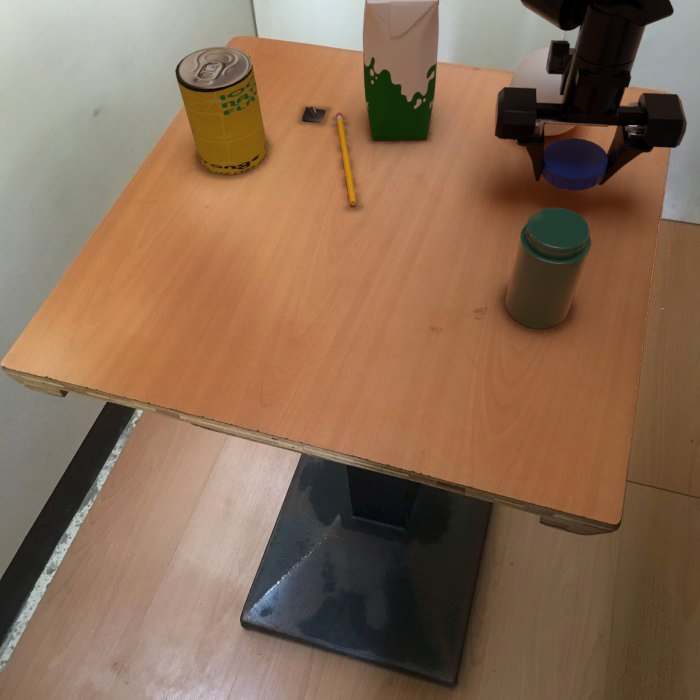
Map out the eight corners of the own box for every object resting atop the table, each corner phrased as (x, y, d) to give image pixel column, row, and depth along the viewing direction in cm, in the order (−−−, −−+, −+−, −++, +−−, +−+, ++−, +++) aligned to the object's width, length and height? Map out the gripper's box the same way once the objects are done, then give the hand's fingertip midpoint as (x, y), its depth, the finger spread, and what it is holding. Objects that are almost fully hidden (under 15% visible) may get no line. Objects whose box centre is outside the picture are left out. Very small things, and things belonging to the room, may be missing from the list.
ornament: (555, 161, 81) (578, 72, 71) (488, 130, 85) (501, 42, 75) (598, 123, 85) (625, 34, 75) (531, 95, 89) (549, 7, 79)
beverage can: (274, 133, 87) (260, 47, 77) (258, 177, 81) (241, 90, 72) (210, 130, 88) (188, 45, 78) (191, 172, 83) (164, 87, 73)
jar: (560, 280, 69) (585, 201, 60) (574, 327, 65) (603, 250, 56) (500, 284, 69) (516, 205, 60) (511, 330, 65) (530, 254, 56)
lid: (618, 170, 72) (622, 156, 71) (576, 200, 70) (579, 186, 68) (568, 143, 76) (571, 129, 74) (526, 170, 73) (528, 157, 72)
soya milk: (434, 144, 84) (445, -18, 68) (364, 145, 84) (359, -15, 68) (431, 105, 89) (441, -54, 73) (366, 106, 90) (361, -51, 73)
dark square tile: (325, 110, 89) (326, 102, 88) (321, 123, 88) (321, 115, 87) (305, 107, 90) (305, 99, 89) (301, 120, 88) (301, 112, 87)
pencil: (342, 116, 88) (341, 112, 88) (356, 205, 77) (356, 200, 77) (336, 117, 88) (335, 112, 87) (350, 206, 77) (349, 201, 77)
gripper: (694, 11, 65) (644, 142, 78) (507, 7, 68) (488, 134, 80) (713, 72, 59) (656, 204, 71) (506, 64, 61) (485, 193, 74)
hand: (568, 181), depth 74 cm, fingers closed on lid, 7 cm apart
